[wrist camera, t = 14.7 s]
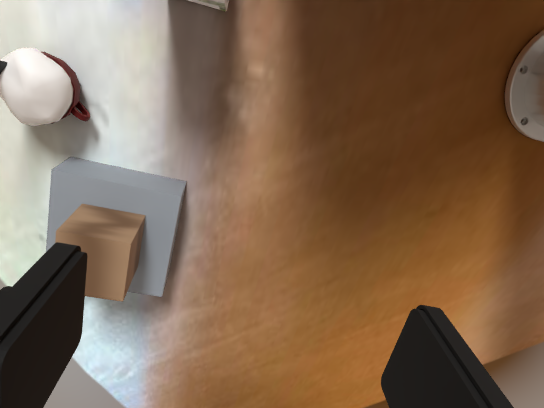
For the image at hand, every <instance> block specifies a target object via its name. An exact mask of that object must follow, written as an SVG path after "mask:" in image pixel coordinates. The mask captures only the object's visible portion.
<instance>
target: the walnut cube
mask: <svg viewBox="0 0 544 408" xmlns="http://www.w3.org/2000/svg"><path fill="white" fill-rule="evenodd" d="M145 216H146V215H141V214H136V213H130V212H125V211H120V210H114V209H109V208H104V207H98V206H93V205H87V204H81V205H80V206H79V207H78V208H77V209H76V210H75V211H74V212H73V214H72V215H71V216H70V217H69V218H68V219H67V220H66V221H65V222H64V223H63V224H62V225H61V226H60V227H59V228H58V229H57V230H56V239H55V243H56V242H60V243H66V244H71V245H77V246H80V247H81V252H85V253H87V271H86V284H85V296H88V297H95V298H102V299H109V300H116V301H123V300H124V298H125V296H126V293H127V291H128V289H129V286H130V284H131V282H132V279H133V277H134V275H135V272H136V270H137V268H138V263H139V256H140V249H141V242H142V236H143V229H144V222H145Z"/></svg>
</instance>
